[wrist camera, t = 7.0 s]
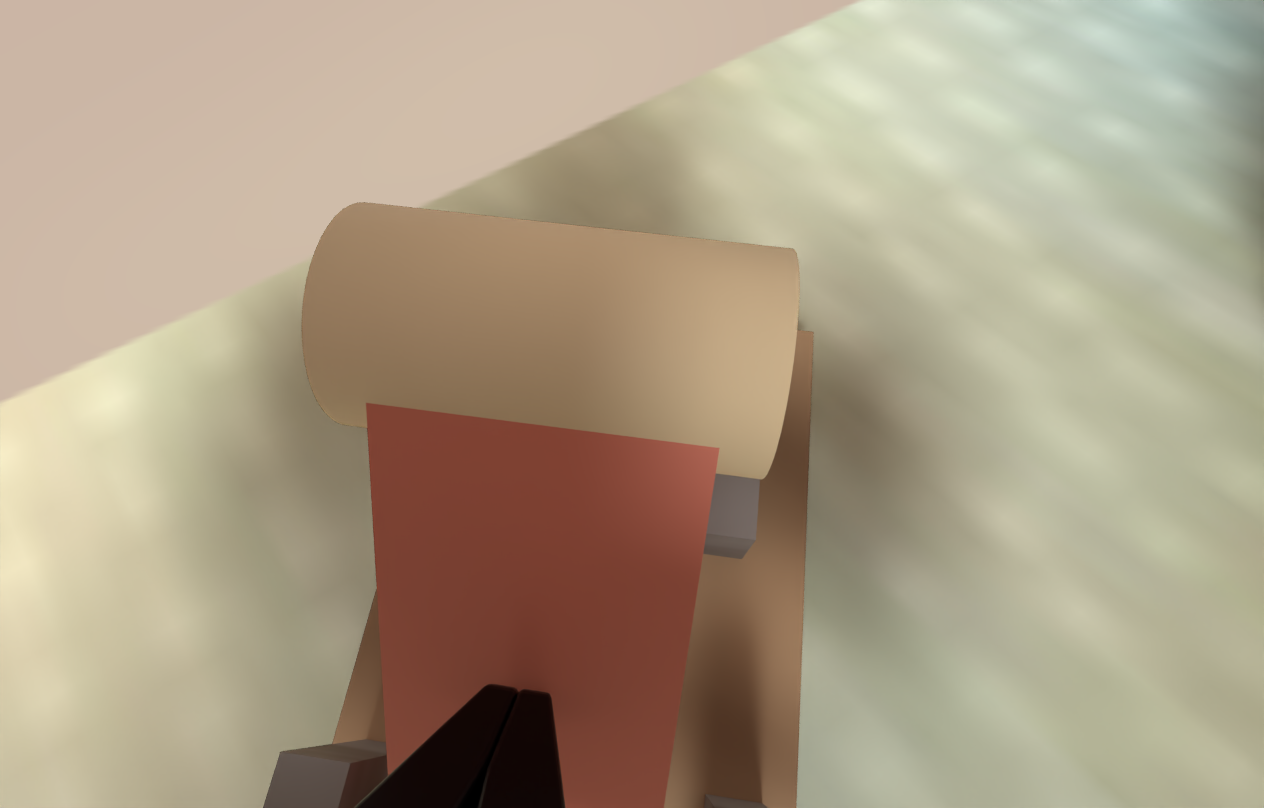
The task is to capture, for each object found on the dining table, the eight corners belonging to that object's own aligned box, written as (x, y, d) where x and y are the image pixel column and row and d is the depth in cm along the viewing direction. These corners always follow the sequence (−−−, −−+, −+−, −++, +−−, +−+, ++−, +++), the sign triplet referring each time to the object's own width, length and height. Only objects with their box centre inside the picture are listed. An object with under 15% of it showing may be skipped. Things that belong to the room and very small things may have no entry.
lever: (668, 1023, 11) (812, 271, 6) (360, 967, 11) (290, 214, 7) (676, 855, 14) (781, 234, 9) (425, 813, 14) (406, 194, 9)
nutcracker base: (760, 1356, 12) (839, 1779, 7) (215, 1240, 12) (-33, 1559, 8) (803, 352, 20) (853, 247, 15) (471, 313, 20) (422, 201, 16)
